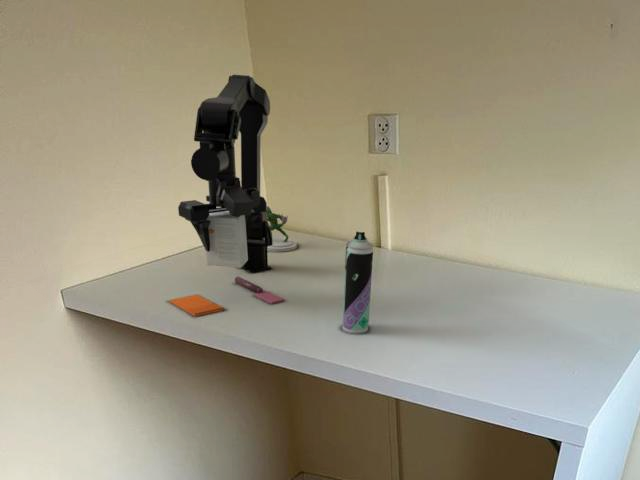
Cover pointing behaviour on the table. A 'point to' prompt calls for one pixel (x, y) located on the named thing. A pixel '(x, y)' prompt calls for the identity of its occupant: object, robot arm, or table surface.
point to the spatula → (259, 291)
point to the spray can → (357, 284)
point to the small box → (227, 240)
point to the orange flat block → (196, 305)
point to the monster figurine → (281, 242)
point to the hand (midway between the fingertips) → (226, 248)
